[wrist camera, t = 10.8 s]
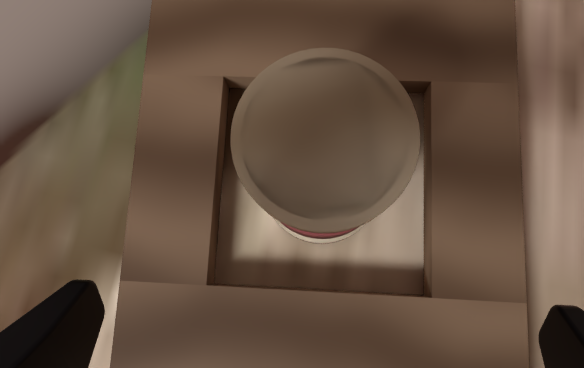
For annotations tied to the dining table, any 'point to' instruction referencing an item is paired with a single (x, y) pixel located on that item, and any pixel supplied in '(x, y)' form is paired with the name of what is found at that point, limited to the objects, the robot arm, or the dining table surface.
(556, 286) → the dining table surface
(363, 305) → the brown flat piece
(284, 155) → the red and beige cylinder
